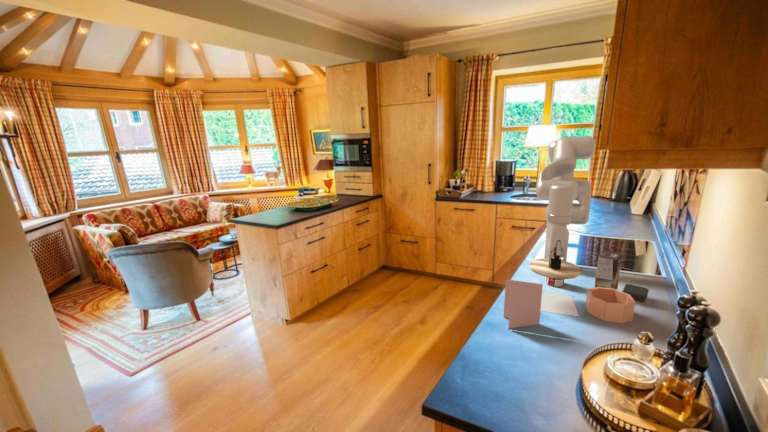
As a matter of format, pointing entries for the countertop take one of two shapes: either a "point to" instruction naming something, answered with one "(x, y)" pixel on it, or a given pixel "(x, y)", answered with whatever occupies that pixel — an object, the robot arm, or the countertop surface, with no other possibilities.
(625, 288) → the phone
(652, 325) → the countertop surface
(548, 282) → the soda can
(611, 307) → the bowl
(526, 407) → the countertop surface
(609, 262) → the coffee box
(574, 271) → the lid
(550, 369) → the countertop surface
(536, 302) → the greeting card
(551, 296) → the mat
